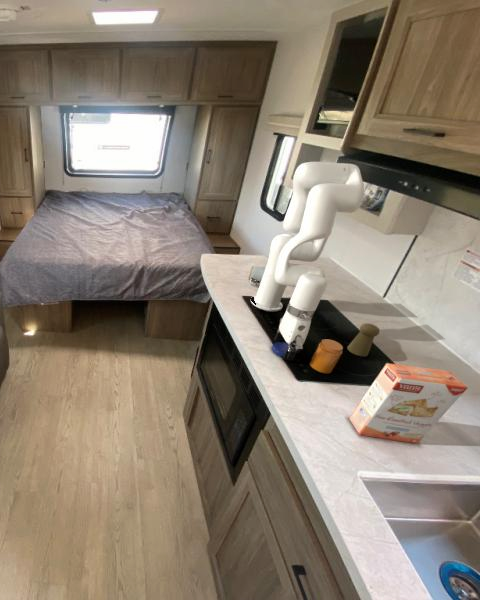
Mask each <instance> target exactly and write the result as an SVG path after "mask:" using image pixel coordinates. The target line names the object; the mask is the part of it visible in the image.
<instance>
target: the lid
mask: <svg viewBox="0 0 480 600" xmlns="http://www.w3.org/2000/svg"><path fill="white" fill-rule="evenodd" d="M291 348H295V346H292V347H291ZM286 350H288V343H287V342H284V343H283V342H276V343H275V342H274V343H273V345H272V347H271V351H272V352H273V353H274V354H275V355H276V356H277V357H280V358H283V357H284V354H285V352H286Z"/></svg>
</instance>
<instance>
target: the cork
mask: <svg viewBox="0 0 480 600" xmlns="http://www.w3.org/2000/svg"><path fill="white" fill-rule="evenodd" d="M380 331H381V330H380V328H379V327H378V326H377V325H375V324H373V323H367V322H366V323H362V324H361V325H360V327H359V332H358V333H357V334H356V336H355V337H354V338H353V340H352V341H351V342H350V343H349V345H347V347H346V348H347V351H349V352H350V353H351V354H353V355H355V356H358V357H368V355H369V354H370V351H371V348H372V346H373V342H374V339H375V338H376V337H378V335H379V334H380Z"/></svg>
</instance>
